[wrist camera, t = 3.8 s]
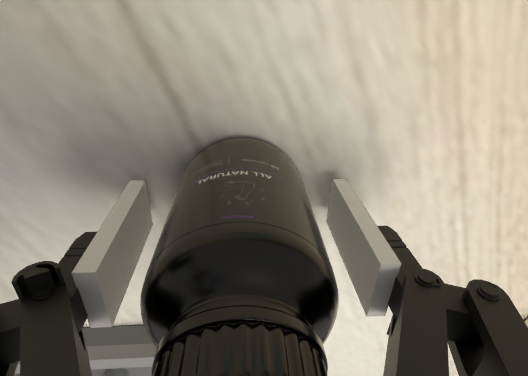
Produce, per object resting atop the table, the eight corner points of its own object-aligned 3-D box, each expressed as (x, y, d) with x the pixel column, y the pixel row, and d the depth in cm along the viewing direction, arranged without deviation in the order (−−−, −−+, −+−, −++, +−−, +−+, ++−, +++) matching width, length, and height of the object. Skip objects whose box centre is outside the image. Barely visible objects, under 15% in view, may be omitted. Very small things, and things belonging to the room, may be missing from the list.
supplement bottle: (248, 106, 16) (269, 290, 5) (323, 195, 19) (431, 428, 8) (153, 186, 18) (31, 440, 7) (235, 256, 21) (232, 511, 10)
